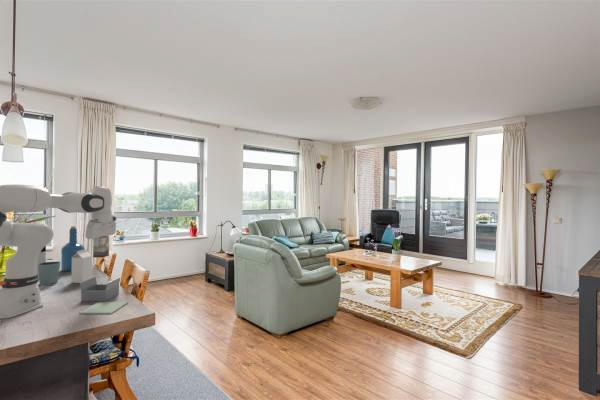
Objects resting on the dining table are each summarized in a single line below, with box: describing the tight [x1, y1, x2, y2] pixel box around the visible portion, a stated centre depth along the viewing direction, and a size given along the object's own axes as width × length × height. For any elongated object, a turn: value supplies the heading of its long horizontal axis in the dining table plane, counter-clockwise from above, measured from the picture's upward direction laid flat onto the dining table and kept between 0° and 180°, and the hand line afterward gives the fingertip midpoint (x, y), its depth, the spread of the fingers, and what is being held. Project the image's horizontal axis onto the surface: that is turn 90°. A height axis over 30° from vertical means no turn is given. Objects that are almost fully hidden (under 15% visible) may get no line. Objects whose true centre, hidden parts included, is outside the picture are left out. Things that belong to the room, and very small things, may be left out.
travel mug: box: [37, 245, 47, 280], centre depth 196 cm, size 6×7×20 cm
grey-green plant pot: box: [38, 261, 61, 287], centre depth 186 cm, size 10×10×12 cm
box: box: [92, 235, 110, 258], centre depth 162 cm, size 5×5×10 cm
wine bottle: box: [60, 225, 85, 273], centre depth 219 cm, size 14×13×30 cm
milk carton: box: [71, 249, 93, 284], centre depth 190 cm, size 7×7×19 cm
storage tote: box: [79, 276, 121, 302], centre depth 162 cm, size 12×13×9 cm
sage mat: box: [79, 301, 129, 315], centre depth 147 cm, size 14×14×1 cm
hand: (101, 245), depth 162 cm, fingers closed on box, 5 cm apart
